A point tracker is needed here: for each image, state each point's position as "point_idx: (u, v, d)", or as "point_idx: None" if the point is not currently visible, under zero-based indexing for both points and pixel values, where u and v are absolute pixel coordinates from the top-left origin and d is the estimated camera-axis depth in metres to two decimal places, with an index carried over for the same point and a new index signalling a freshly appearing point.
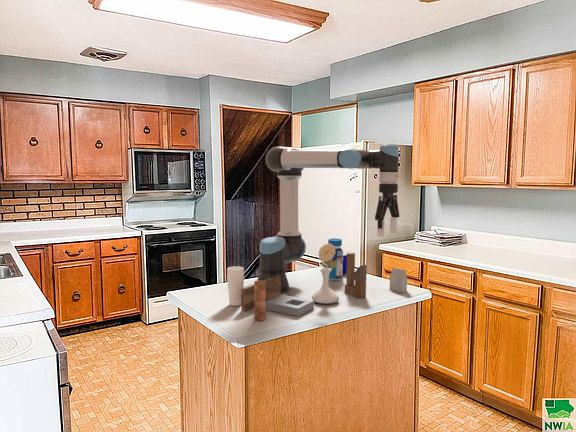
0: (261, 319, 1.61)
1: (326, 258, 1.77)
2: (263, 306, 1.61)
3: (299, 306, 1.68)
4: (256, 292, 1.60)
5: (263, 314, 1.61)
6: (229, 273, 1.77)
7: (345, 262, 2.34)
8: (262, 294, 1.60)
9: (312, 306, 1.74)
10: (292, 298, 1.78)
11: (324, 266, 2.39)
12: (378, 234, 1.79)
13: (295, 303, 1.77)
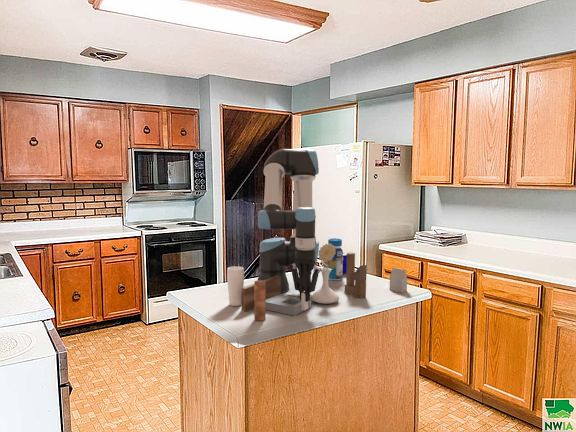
0: (261, 319, 1.61)
1: (326, 258, 1.77)
2: (263, 306, 1.61)
3: (295, 305, 1.69)
4: (256, 292, 1.60)
5: (263, 314, 1.61)
6: (229, 273, 1.77)
7: (345, 262, 2.34)
8: (262, 294, 1.60)
9: (309, 305, 1.75)
10: (289, 297, 1.79)
11: (324, 266, 2.39)
12: None
13: (292, 302, 1.77)
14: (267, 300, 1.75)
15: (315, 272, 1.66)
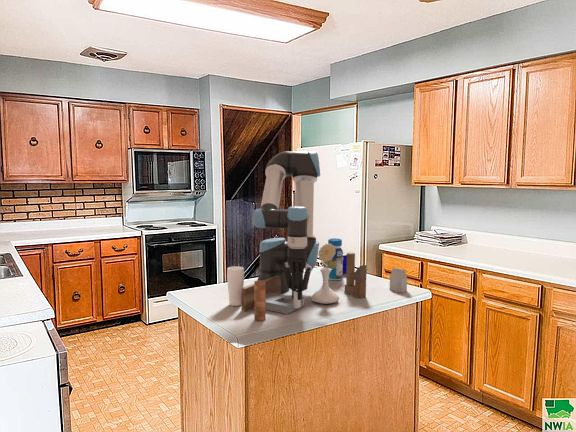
0: (261, 319, 1.61)
1: (326, 258, 1.77)
2: (263, 306, 1.61)
3: (288, 304, 1.70)
4: (256, 292, 1.60)
5: (263, 314, 1.61)
6: (229, 273, 1.77)
7: (345, 262, 2.34)
8: (262, 294, 1.60)
9: (301, 304, 1.77)
10: (282, 296, 1.81)
11: (324, 266, 2.39)
12: None
13: (285, 301, 1.79)
14: None
15: (307, 270, 1.67)
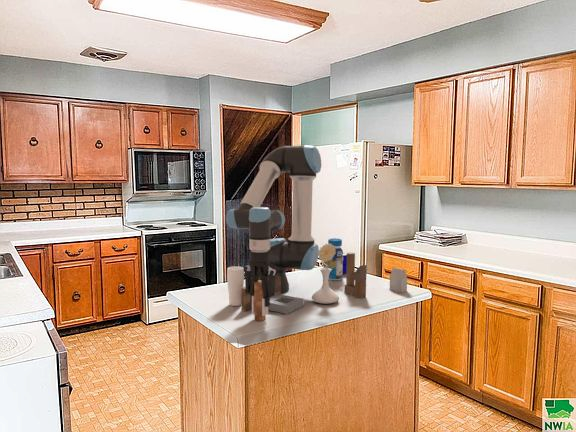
0: (261, 319, 1.61)
1: (326, 258, 1.77)
2: None
3: (288, 304, 1.70)
4: (256, 292, 1.60)
5: None
6: (229, 273, 1.77)
7: (345, 262, 2.34)
8: (262, 294, 1.60)
9: (301, 304, 1.77)
10: (282, 296, 1.81)
11: (324, 266, 2.39)
12: None
13: (284, 301, 1.79)
14: None
15: (270, 274, 1.57)
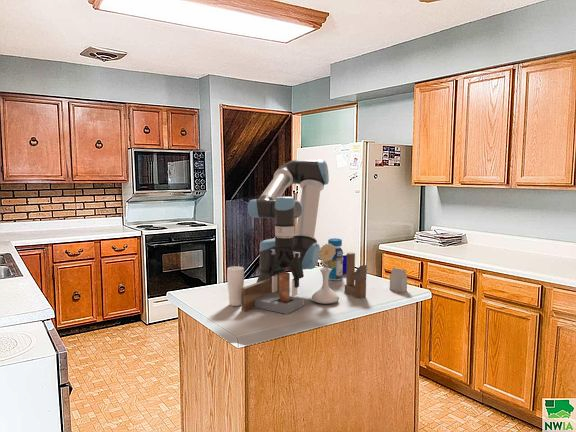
0: None
1: (326, 258, 1.77)
2: (287, 296, 1.74)
3: (288, 304, 1.70)
4: (281, 283, 1.73)
5: None
6: (229, 273, 1.77)
7: (345, 262, 2.34)
8: (286, 284, 1.73)
9: (301, 304, 1.77)
10: None
11: (324, 266, 2.39)
12: None
13: None
14: (260, 299, 1.77)
15: (296, 257, 1.69)
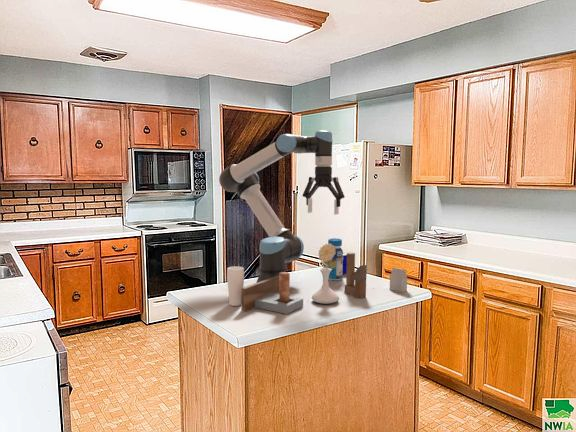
0: None
1: (326, 258, 1.77)
2: (287, 296, 1.74)
3: (288, 304, 1.70)
4: (281, 283, 1.73)
5: None
6: (229, 273, 1.77)
7: (345, 262, 2.34)
8: (286, 284, 1.73)
9: (301, 304, 1.77)
10: None
11: (324, 266, 2.39)
12: None
13: None
14: (260, 299, 1.77)
15: (334, 180, 1.96)
